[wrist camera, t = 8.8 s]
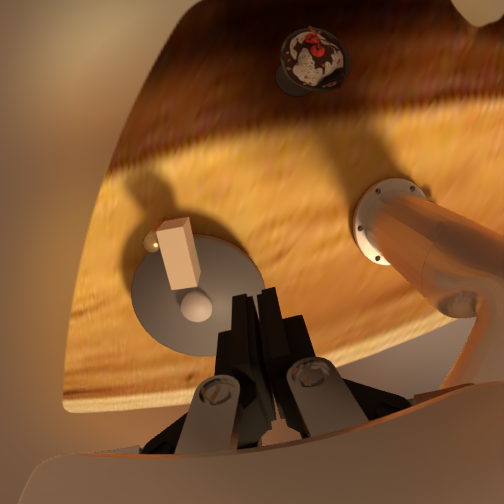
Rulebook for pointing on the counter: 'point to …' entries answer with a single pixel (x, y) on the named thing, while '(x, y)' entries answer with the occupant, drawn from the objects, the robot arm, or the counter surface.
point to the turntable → (191, 288)
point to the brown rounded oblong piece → (153, 238)
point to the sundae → (312, 62)
